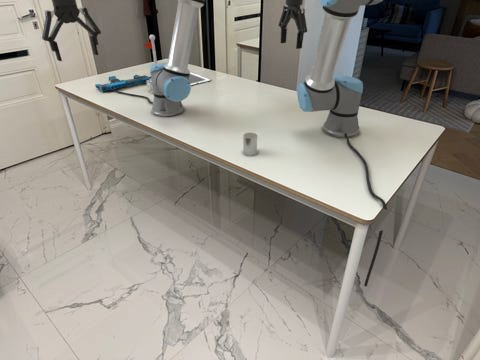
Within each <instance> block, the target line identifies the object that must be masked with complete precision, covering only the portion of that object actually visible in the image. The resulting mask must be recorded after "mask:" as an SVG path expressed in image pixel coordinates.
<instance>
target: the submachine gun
mask: <svg viewBox="0 0 480 360" xmlns="http://www.w3.org/2000/svg"><path fill="white" fill-rule="evenodd" d="M150 79H151V76H148V75H146V74H145V75H144V74H143V75H139V74H134V75H133V78H129V79H122V80H120V79H119V78H117V76H115V75H112V76H108V80H109V81H110V82H109V83H104V84H100V83H96V84H94V85H95V89H97V90H99V92H107V91H113V92H115V91H114V89H115V90H117V89H120V88H121V89H122V88H126V87H129V86H130V87H131V86H134V85H140V84H147V82H146V81H147V80H149V81H150Z"/></svg>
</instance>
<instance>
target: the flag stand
mask: <svg viewBox="0 0 480 360" xmlns="http://www.w3.org/2000/svg"><path fill="white" fill-rule="evenodd" d="M155 40H156V36H155V35H154V34H150V35H149V41H148V42H146V43H145V44H143V47H145V48H147V49H151V50H152V56H153V65H154V64H158V59H157V51H156V45H155ZM146 87H147V88H149V92H150V93H151V94H154V93H153V87H152V80H151V79H150V80H147V81H146Z"/></svg>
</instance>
